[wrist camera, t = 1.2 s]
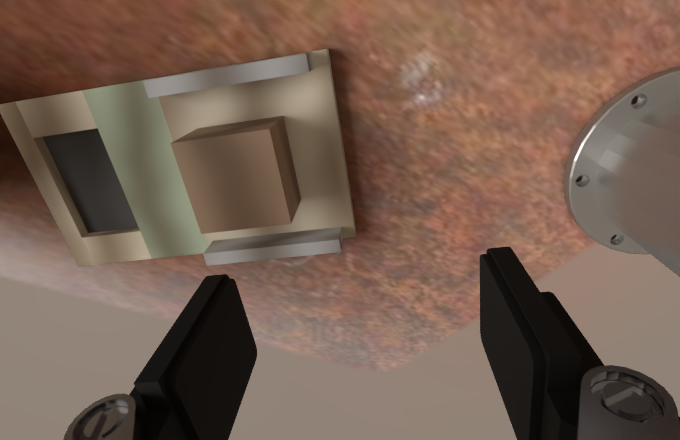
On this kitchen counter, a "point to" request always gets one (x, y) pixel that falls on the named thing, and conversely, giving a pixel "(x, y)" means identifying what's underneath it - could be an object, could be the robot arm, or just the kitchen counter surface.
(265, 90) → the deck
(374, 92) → the kitchen counter surface
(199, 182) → the walnut block
